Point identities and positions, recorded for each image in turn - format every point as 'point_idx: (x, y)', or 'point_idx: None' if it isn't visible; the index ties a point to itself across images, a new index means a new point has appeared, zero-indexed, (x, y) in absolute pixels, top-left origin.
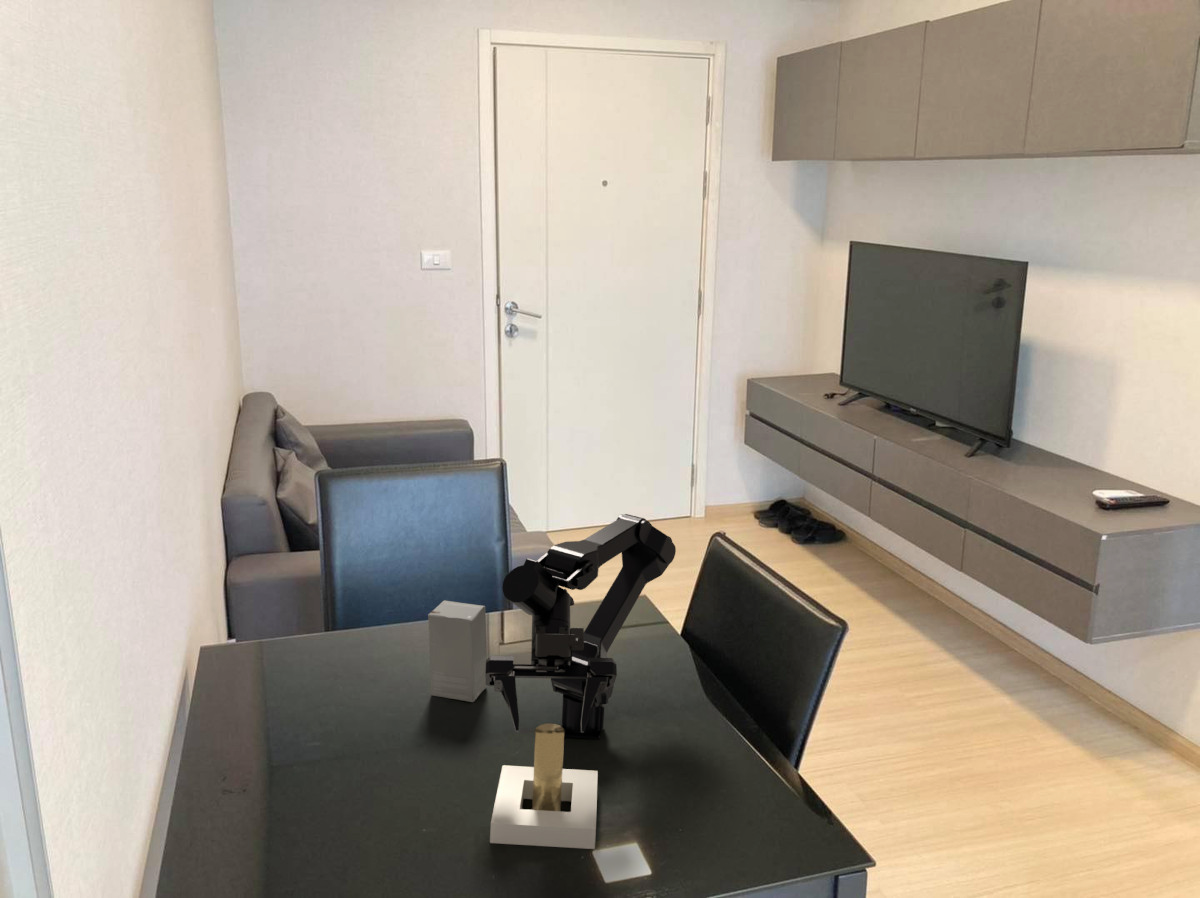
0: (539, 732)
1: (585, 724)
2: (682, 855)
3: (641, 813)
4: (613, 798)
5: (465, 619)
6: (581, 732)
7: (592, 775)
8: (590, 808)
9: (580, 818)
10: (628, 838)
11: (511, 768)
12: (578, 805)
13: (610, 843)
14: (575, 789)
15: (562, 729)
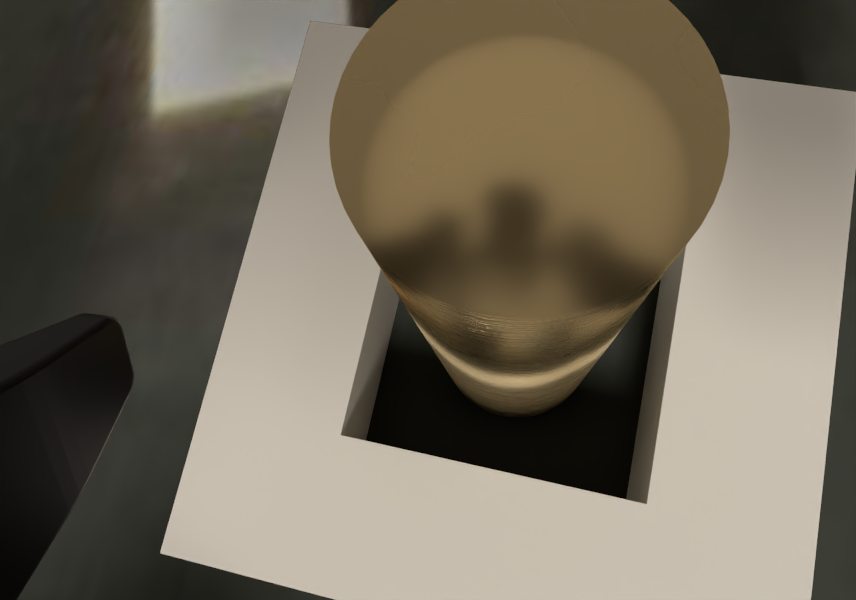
0: (672, 91)
1: (30, 339)
2: (8, 27)
3: (62, 308)
4: (151, 444)
5: None
6: (131, 365)
7: (205, 502)
8: (296, 180)
9: None
10: (177, 139)
11: None
12: None
13: (261, 112)
14: (339, 366)
15: (349, 149)
